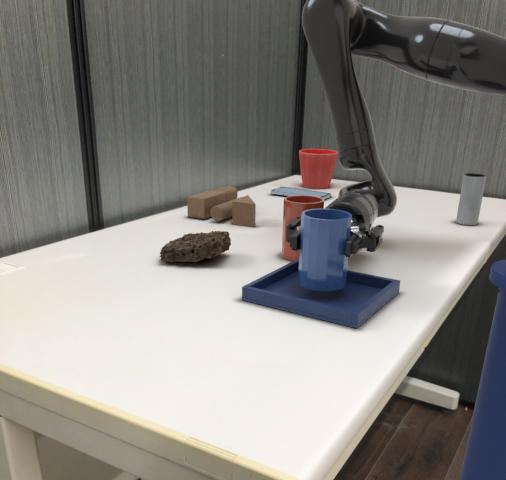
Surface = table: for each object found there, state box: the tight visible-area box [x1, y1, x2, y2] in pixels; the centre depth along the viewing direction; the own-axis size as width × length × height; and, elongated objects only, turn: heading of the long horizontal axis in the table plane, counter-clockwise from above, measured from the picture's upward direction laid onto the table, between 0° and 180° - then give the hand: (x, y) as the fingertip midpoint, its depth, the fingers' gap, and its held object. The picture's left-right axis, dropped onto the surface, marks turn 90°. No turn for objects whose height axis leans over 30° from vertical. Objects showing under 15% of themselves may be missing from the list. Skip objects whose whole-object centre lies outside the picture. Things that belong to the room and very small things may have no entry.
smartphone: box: [270, 186, 332, 200], centre depth 150 cm, size 7×1×15 cm
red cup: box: [281, 195, 325, 262], centre depth 99 cm, size 7×7×10 cm
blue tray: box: [241, 260, 401, 329], centre depth 82 cm, size 18×16×2 cm
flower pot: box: [298, 148, 338, 190], centre depth 161 cm, size 11×11×10 cm
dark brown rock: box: [159, 230, 232, 263], centre depth 97 cm, size 12×10×5 cm
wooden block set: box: [186, 185, 257, 228], centre depth 128 cm, size 17×6×18 cm
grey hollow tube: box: [455, 172, 487, 226], centre depth 123 cm, size 4×4×10 cm
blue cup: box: [298, 208, 352, 291], centre depth 80 cm, size 7×7×10 cm
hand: (320, 246), depth 78 cm, fingers closed on blue cup, 7 cm apart
